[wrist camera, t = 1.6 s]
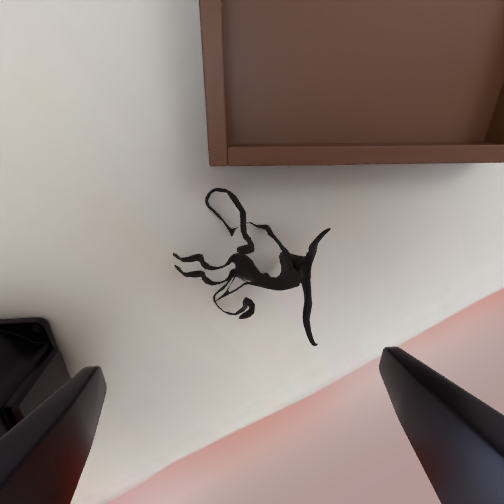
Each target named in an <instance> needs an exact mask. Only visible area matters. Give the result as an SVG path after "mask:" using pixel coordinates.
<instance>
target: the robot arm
mask: <svg viewBox="0 0 504 504" xmlns="http://www.w3.org/2000/svg"><path fill="white" fill-rule="evenodd" d="M37 325H38V326H39V327H38V326H37ZM379 370H380V374H381V376H382V379H383V381H384V384H385V387H386V389H387V391H388V394H389V397H390V399H391V402H392V404H393V407H394V409H395V412H396V414H397V416H398V419H399V421H400V423H401V425H402V427H403V429H404V431H405V433H406V435H407V437H408V439H409V441H410V443H411V445H412V447H413V449H414V451H415V452H416V455H417V456H418V458H419V460H420V462H421V464H422V466H423V468H424V470H425V472H426V474H427V476H428V478H429V480H430V482H431V484H432V486H433V488H434V490H435V492H436V494H437V496H438V498H439V500H440V502H441V503H442V504H504V415H502V414H501V413H499V412H498V411H496V410H495V409H493V408H491V407H490V406H489V405H487V404H485V403H484V402H482V401H481V400H479V399H478V398H476V397H475V396H473V395H472V394H470V393H468V392H467V391H465V390H464V389H462V388H460V387H459V386H458V385H456V384H455V383H453V382H451V381H450V380H448V379H447V378H445V377H444V376H442V375H441V374H439V373H437V372H436V371H434V370H433V369H431V368H430V367H428V366H427V365H425V364H424V363H422V362H421V361H419V360H417V359H416V358H414V357H413V356H411V355H410V354H408V353H407V352H405V351H404V350H402V349H400V348H399V347H385V348H384V349H383V352H382V356H381V360H380V364H379ZM106 388H107V387H106V382H105V379H104V376H103V372H102V369H101V368H100V367H99V366H92V367H85V368H83V369H82V370H81V371H80V372H78V373H77V374H76V375H75V376H74V377H73V378H71V379H70V376H69V374H68V371H67V368H66V366H65V363H64V361H63V358H62V355H61V353H60V351H59V348H58V346H57V343H56V341H55V338H54V335H53V333H52V330H51V328H50V325H49V323H48V321H46V320H45V319H43V318H20V319H0V504H70V503H71V500H72V498H73V495H74V492H75V490H76V487H77V484H78V482H79V479H80V476H81V474H82V471H83V468H84V466H85V463H86V460H87V458H88V455H89V452H90V449H91V446H92V443H93V439H94V436H95V432H96V428H97V425H98V421H99V417H100V413H101V410H102V406H103V402H104V398H105V395H106Z"/></svg>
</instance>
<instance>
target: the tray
mask: <svg viewBox="0 0 504 504" xmlns="http://www.w3.org/2000/svg"><path fill="white" fill-rule="evenodd" d="M199 8H200V23H201V39H202V55H203V71H204V87H205V103H206V119H207V135H208V151H209V165H210V166H227V165H228V166H279V165H353V164H428V163H502V162H504V0H199Z"/></svg>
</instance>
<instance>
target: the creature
mask: <svg viewBox="0 0 504 504" xmlns="http://www.w3.org/2000/svg"><path fill="white" fill-rule="evenodd" d="M215 191H219V192H226V193H227V194H228V195H229V197H230V198H231V200H232V201H233V203H234V204H235V205H236V207H237V208H238V210H239V211H240V220H241V221H240V225H239V226H240V227H241V233H242V236H243V238H244V239H245V240H246V241H247V242H248V245H244V246H240V247H238V248H237V252H239V253H236V254H233V255H232V256H231V257H230V258H229V259H228V261H227V263H226V264H225V265H223V266H220V267H214V266H210V265H209V264H207V263H206V262H205V261H204V257H203V255H201V254H196V255H192V256H189V257H185V258H180V257H179V256H178V255H177V254H175V253H173V256H175V257H176V258H177V259H179V260H181V261H182V262H194V261H199V262H200V263H201V266H202V267H203V268H205V269H208V270H216V269H220V268H223V267H225V266H227V265H229V264H230V263H231V262H233V263H235V266H236V268H235V269H232V270H231V271H230V273H229V276H228V278H227V279H225V280H224V281H221V282H213V281H212V280H210V279H209V278H208V277H206V275H205V272H203V271H193V272H188V273H185V272H183V271H182V270H181V268H179V267H178V266H176V265H174V266H175V268H176V269H177V270H178V271H179V272H180V273H181V274H183V275H184V276H186V277H201V278H202V280H203V281H204V282H205V283H206V284H209V285H217V284H221V283H223V282H225V281H228V282H227V284H228V283H229V282H230V280H231V279H232V278H233V277H234V278H233V280H234V279H235V277H238V278H240V279H242V280H243V279H246V280H250V281H252V282H248V281H246V282H245V283H243V284H242V285H241V286H240V287H238V288H237V289H235V290H233V291H231V292H229V291H228V289H229V288H230V286H229V288H228V289H227V291H226V292H225V293H224V294H223V295H222V296H221V297H219V298H218V299H217V300H219V299H221V298H223V297H225V296H227V295H229V294H231V293H233V292H234V291H236V290H238V289H239V288H241V287H242V286H244V285H246V284H250V285H254V286H259V287H263V288H267V289H271V290H286V289H291V288H294V287H297V286H299V285H300V283H301V284H302V287H303V291H304V309H303V324H304V328H305V331H306V334H307V337H308V339H309V341H310V343H311V344H312V345H313V346H316V345H318V344H316V343H315V342H314V339H313V336H312V332H311V327H310V320H309V319H310V313H311V308H312V297H311V282H310V279H311V266H312V263H313V260H314V257H315V255H316V252H317V246H318V243H319V242H320V240H321V239H322V238H323V237H324V235H325V234H326V233H327V232H328V231H330V230H331V228H328V229H326V230H324V231H323V232H322V233H320V234H319V235H318V236H317V237H316V238H315V240H314V241H313V242H312V243H311V244H310V246H309V251H308V252H307V254H306V256H298V255H294V254H291V253H290V252H289V251H288V250H287V249H286V248H285V247H284V246H283V245H282V244H281V242H280V241H279V240H278V239H277V238H276V236H275V235H274V234H273V232H272V230H271V228H270V227H269V226H268V225H255V224H253V223H251V222H248V223H251V224H253V225H254V226H256V227H258V228H263V229H265V230H266V231H267V233H268V235H269V236H271V237H272V238H273V239H274V240H275V241H276V242H277V244H278V245H279V247H280V248H281V250H282V252H281V253H280V255H279V259H280V264H281V273H280V275H279V276H278V277H270V275H269V274H268V273H265V274H262V273H260V272H259V270H258V269H257V268H256V266H255V265H254V263H253V261H252V260H251V259H250V258H249V257H248V256H247V255H245V254H249V253H252V252H254V250H255V249H254V243H253V241H252V240H251V238H250V237H249V236H248V234H247V230H246V212H245V210H244V208H243V207H242V205H241V203H240V202H239V200H238V199H237V197H236V196H235V195H234V194H233V193H232V192H230V191H228V190H227V189H222V188H215V189H212V190H211V191H210V192H209V193H208V194H207V196H206V199H205V202H206V205H207V206H208V208H209V209H210V210H211V211H212V212H213V213H215V214H216V216H217V217H218V218H219V219H220V220H221V221H222V222H223V223H224V224H225V226H226V227H227V229H228V230H229V232H230V234H231V236H233V234H234V231H235V229H237V228H238V227H237V228H234V229H231V228H230V227H229V226H228V225H227V224H226V223H225V221H224V220H223V219H222V218H221V216H220V215H219V214H218V213H217V212H216V211H215V210H214V209H213V208H211V207H210V206H209V203H208V199H209V197H210V194H211V193H213V192H215ZM233 280H232V282H233ZM243 281H245V280H243ZM232 282H231V283H232ZM227 284H226V285H224V286H223V287H222V288H221V289H220V290H219V291H218V292H217V293H219V292H220V291H222V290H223V289H224V288H225V287H226V286H227ZM230 285H231V284H230ZM217 293H215V295H216V294H217ZM215 295H214V297H213V299H214V302H215V304H216V305H217V303H216V301H217V300H215ZM217 306H218V305H217ZM247 306H249V310H247V311H246V312H244V311H245V309H246V308H247ZM218 308H219V309H221V308H220V307H219V306H218ZM254 309H255V304H254V303H253V301H252V300H251V299H249V298H247V297H245V298H244V300H243V307H242V308H241V309H239V310H238V311H237V312H236V313H230V312H226V311H223V310H222V309H221V310H222V311H223V312H225V313H227V314H229V315H237V314H240V313H242V312H244V313H243V314H242V315H240V317H239V319H244V318H248V317H250V316H251V315H253V314H254Z"/></svg>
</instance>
